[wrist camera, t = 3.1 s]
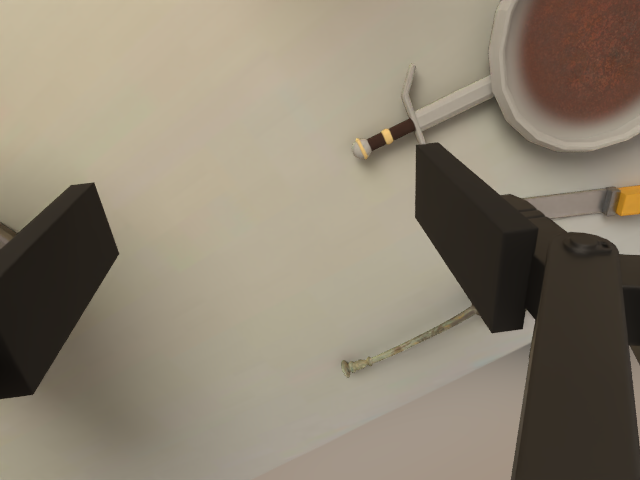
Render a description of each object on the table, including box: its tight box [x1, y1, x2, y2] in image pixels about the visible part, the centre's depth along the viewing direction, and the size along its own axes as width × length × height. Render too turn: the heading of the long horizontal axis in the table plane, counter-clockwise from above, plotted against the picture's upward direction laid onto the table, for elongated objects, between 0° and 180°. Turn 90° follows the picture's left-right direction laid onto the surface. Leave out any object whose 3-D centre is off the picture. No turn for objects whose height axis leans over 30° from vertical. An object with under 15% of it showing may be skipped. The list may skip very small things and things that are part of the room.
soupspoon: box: [341, 304, 527, 378], centre depth 43 cm, size 22×3×7 cm
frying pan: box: [352, 0, 640, 159], centre depth 33 cm, size 17×3×28 cm
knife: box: [522, 185, 640, 219], centre depth 39 cm, size 18×2×2 cm, turn 95°
